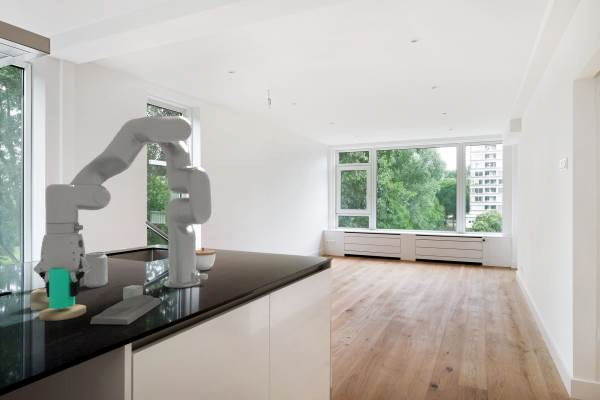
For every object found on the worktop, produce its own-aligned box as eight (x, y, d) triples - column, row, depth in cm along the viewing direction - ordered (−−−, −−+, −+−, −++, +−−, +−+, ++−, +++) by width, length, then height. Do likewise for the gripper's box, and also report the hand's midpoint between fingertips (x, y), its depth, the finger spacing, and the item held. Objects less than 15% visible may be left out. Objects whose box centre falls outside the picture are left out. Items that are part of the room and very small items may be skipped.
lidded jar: (193, 266, 177) (192, 246, 177) (216, 266, 178) (216, 245, 178) (188, 271, 167) (188, 249, 166) (214, 270, 168) (214, 249, 168)
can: (97, 288, 136) (97, 254, 136) (79, 287, 137) (78, 253, 137) (112, 283, 143) (111, 251, 143) (94, 282, 145) (94, 250, 145)
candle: (56, 310, 101) (55, 264, 101) (44, 306, 105) (44, 262, 105) (79, 304, 107) (79, 261, 106) (67, 301, 110) (67, 259, 110)
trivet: (93, 308, 111) (93, 304, 111) (72, 320, 100) (72, 315, 100) (54, 308, 111) (54, 304, 111) (29, 321, 100) (29, 316, 100)
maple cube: (56, 304, 116) (56, 287, 116) (51, 308, 112) (50, 291, 112) (37, 305, 115) (36, 288, 115) (30, 310, 110) (30, 292, 110)
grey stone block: (142, 298, 122) (142, 285, 122) (133, 301, 119) (133, 288, 119) (132, 297, 124) (132, 285, 124) (123, 300, 120) (123, 287, 120)
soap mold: (89, 326, 98) (88, 312, 98) (129, 304, 118) (129, 292, 118) (128, 326, 97) (128, 312, 97) (162, 304, 117) (162, 293, 117)
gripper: (101, 228, 110) (101, 292, 110) (39, 228, 109) (39, 293, 109) (87, 230, 102) (88, 299, 102) (20, 231, 101) (21, 300, 102)
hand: (63, 295), depth 106 cm, fingers closed on candle, 5 cm apart
